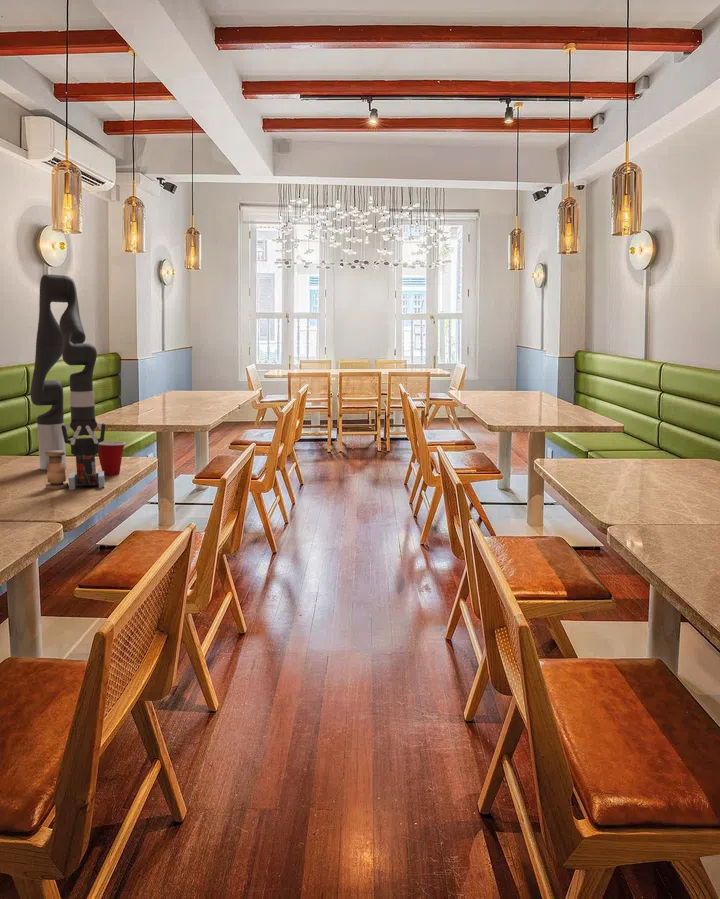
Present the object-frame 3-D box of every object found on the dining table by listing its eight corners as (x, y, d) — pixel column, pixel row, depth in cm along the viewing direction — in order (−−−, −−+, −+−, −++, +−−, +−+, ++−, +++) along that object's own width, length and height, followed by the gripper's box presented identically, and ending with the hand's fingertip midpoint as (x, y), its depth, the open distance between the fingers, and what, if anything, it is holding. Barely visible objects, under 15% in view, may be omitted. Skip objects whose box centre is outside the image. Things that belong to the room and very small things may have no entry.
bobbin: (46, 485, 252) (44, 450, 250) (68, 484, 255) (66, 449, 253) (45, 490, 246) (42, 454, 244) (67, 488, 248) (65, 453, 246)
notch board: (70, 484, 254) (69, 473, 254) (104, 482, 258) (103, 471, 257) (69, 490, 246) (68, 478, 245) (104, 487, 249) (103, 476, 249)
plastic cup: (133, 473, 274) (131, 441, 272) (105, 478, 266) (103, 444, 264) (117, 469, 281) (116, 438, 279) (90, 473, 273) (88, 441, 271)
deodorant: (80, 481, 253) (77, 437, 250) (98, 481, 253) (96, 437, 251) (75, 485, 247) (72, 440, 244) (93, 485, 247) (91, 440, 245)
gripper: (105, 403, 252) (108, 452, 254) (59, 404, 247) (62, 454, 250) (105, 405, 245) (108, 456, 247) (58, 406, 240) (61, 458, 243)
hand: (85, 454), depth 249 cm, fingers closed on deodorant, 6 cm apart
